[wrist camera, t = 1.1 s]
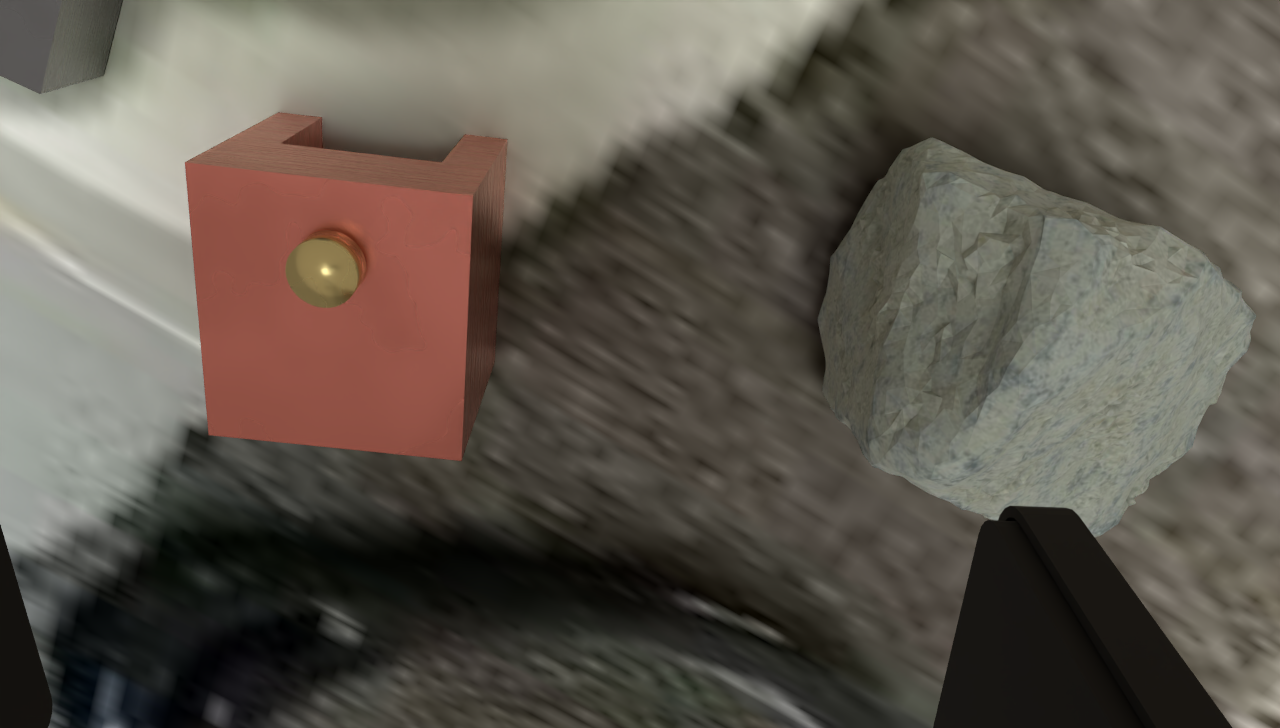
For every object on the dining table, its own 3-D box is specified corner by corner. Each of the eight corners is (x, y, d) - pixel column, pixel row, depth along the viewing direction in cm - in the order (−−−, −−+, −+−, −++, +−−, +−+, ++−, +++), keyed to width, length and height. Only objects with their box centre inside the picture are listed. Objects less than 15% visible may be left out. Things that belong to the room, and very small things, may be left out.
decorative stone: (688, 231, 28) (761, 559, 23) (1020, -28, 21) (1218, 358, 17) (929, 334, 36) (1020, 591, 31) (1223, 171, 30) (1393, 466, 25)
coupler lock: (494, 361, 30) (455, 477, 24) (288, 339, 30) (195, 450, 23) (507, 139, 27) (467, 205, 21) (278, 112, 27) (168, 170, 20)
